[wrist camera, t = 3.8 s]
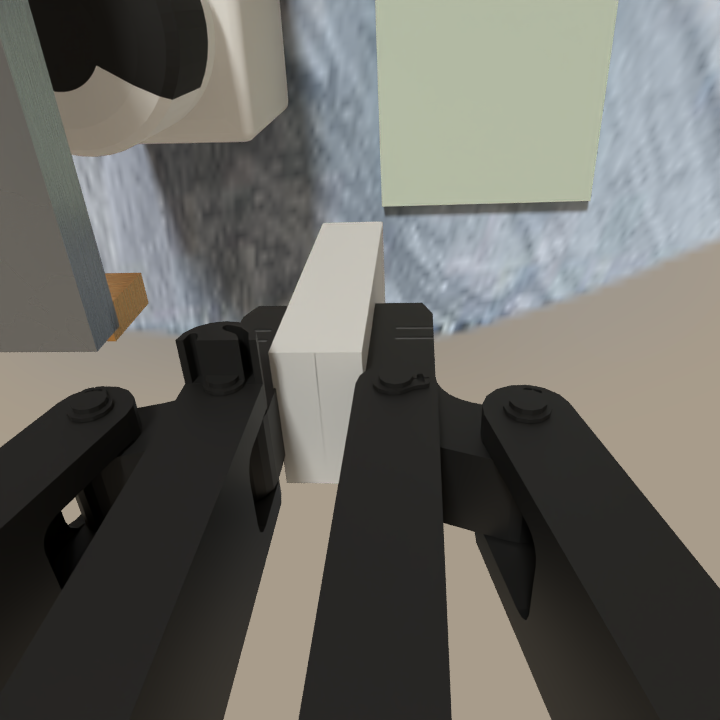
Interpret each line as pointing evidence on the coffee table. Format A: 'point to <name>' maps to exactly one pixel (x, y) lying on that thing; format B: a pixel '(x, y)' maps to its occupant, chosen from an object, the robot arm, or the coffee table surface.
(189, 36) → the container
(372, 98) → the coffee table surface
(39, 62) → the grey l-shaped beam
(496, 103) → the pad
